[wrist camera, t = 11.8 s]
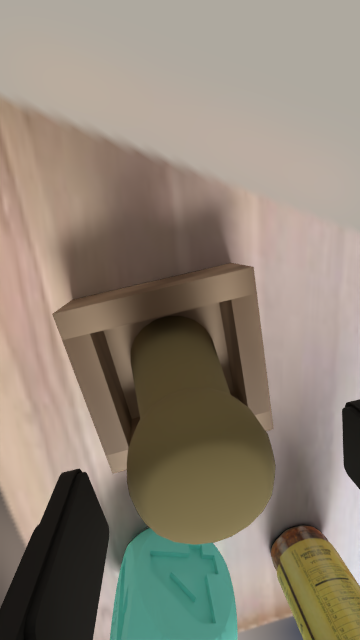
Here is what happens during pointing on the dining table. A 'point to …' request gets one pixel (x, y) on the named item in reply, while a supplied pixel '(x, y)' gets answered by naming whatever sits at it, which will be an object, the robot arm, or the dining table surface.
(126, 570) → the decorative dice
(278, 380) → the dining table surface
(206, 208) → the dining table surface
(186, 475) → the cork
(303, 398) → the dining table surface
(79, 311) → the shaker holder
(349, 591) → the sauce bottle
